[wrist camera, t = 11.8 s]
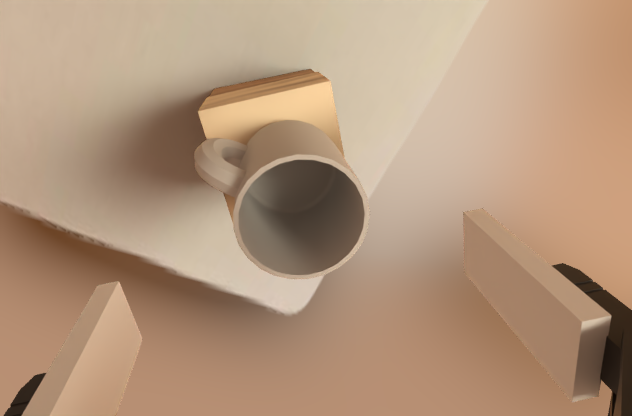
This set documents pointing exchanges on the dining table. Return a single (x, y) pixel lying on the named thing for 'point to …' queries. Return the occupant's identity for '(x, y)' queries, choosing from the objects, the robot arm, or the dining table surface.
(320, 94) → the beech block
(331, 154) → the cup
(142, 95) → the dining table surface
